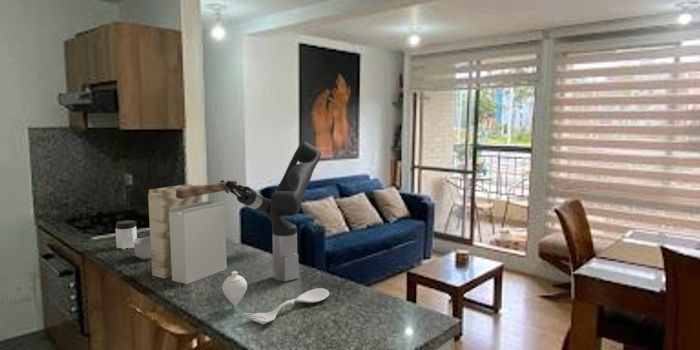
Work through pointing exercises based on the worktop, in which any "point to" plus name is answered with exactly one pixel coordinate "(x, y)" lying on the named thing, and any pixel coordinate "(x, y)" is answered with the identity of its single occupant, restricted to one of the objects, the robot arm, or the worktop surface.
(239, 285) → the spinning top
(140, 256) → the teacup
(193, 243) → the white upright box
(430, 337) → the worktop surface
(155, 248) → the tall stand
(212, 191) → the walnut bar
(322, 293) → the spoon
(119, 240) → the jar
